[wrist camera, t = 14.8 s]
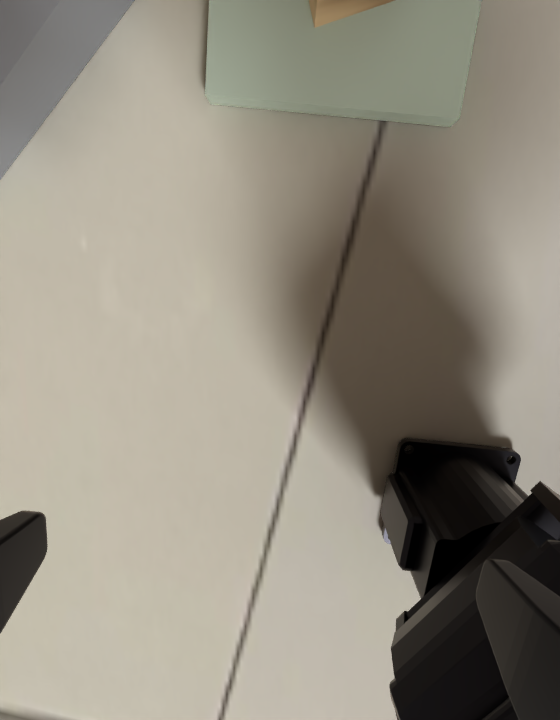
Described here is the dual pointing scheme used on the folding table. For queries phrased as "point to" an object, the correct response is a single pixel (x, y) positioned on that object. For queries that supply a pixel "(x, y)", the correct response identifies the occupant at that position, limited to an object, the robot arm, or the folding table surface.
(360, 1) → the t key
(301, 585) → the folding table surface
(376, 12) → the rubber pad
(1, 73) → the gray square ring
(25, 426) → the folding table surface
